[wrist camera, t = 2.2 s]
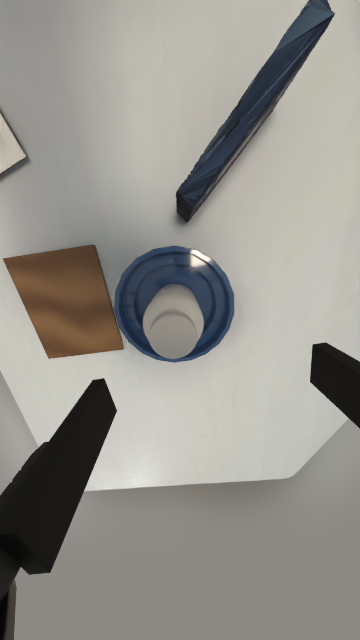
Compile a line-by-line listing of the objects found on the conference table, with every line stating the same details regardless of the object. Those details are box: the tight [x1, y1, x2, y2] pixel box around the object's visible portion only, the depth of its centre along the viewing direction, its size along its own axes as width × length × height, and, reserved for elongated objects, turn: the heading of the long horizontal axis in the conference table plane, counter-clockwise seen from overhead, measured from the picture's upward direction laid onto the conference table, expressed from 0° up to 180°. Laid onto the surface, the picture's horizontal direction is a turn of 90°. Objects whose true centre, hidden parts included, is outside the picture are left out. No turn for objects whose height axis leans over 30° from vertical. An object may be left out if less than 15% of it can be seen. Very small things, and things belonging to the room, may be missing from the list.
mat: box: [3, 245, 124, 359], centre depth 33 cm, size 20×16×1 cm
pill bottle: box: [143, 284, 204, 359], centre depth 26 cm, size 8×8×15 cm
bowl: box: [114, 246, 234, 362], centre depth 31 cm, size 19×19×5 cm
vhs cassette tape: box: [176, 0, 335, 222], centre depth 21 cm, size 18×3×10 cm, turn 139°
